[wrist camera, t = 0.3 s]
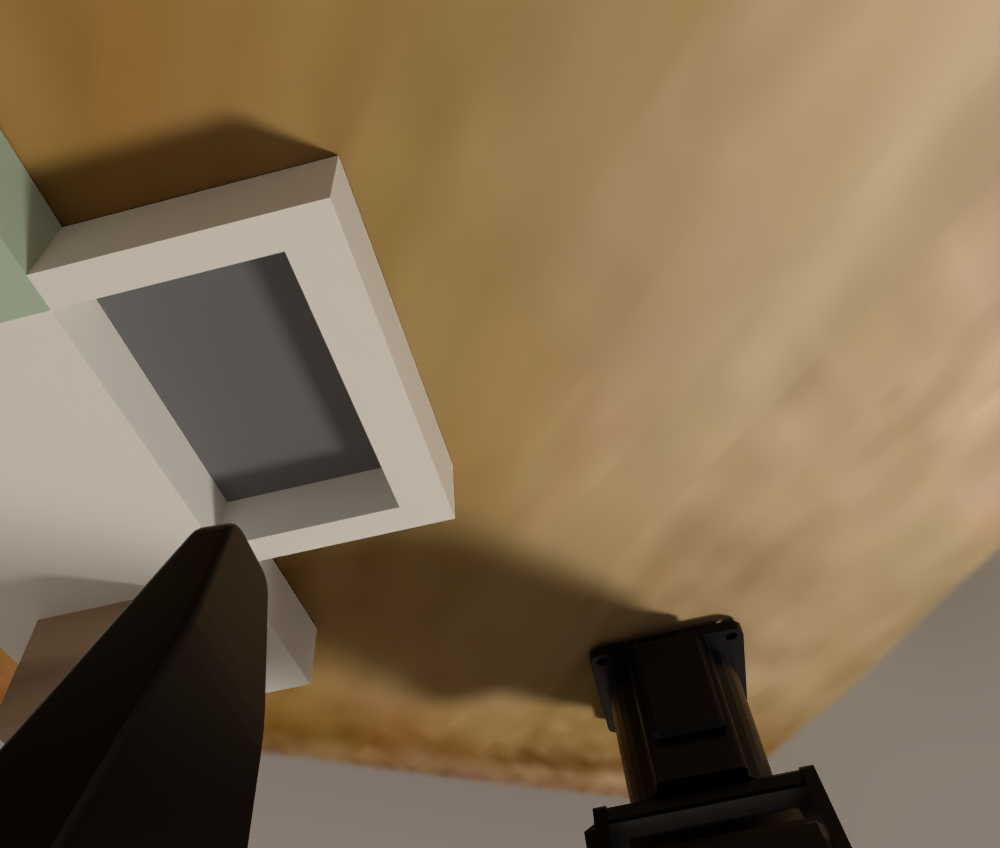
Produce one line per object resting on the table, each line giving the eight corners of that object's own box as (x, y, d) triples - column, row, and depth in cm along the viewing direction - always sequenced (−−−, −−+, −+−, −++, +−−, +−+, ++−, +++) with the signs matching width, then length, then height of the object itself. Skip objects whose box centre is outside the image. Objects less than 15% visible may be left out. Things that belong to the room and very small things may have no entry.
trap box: (498, 590, 32) (504, 644, 30) (-60, 706, 34) (-88, 764, 32) (213, -183, 16) (185, -174, 14) (-806, 124, 18) (-951, 169, 16)
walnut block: (243, 672, 30) (223, 778, 27) (116, 698, 30) (82, 805, 27) (178, 589, 27) (147, 698, 24) (38, 619, 27) (-11, 731, 24)
